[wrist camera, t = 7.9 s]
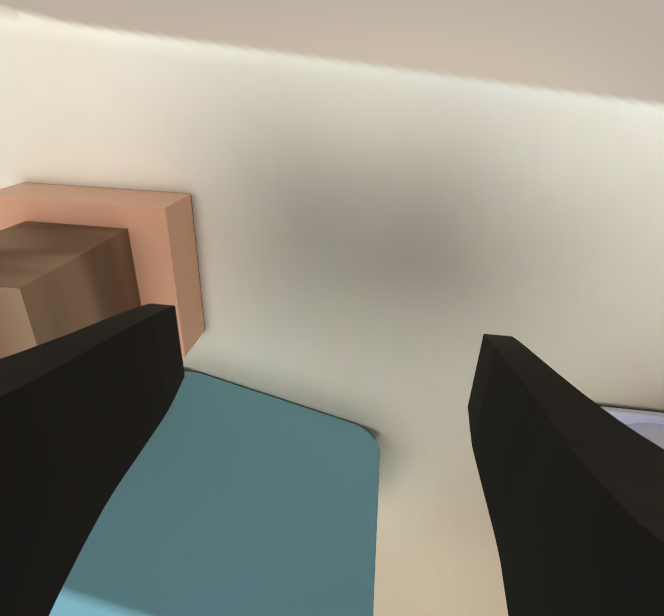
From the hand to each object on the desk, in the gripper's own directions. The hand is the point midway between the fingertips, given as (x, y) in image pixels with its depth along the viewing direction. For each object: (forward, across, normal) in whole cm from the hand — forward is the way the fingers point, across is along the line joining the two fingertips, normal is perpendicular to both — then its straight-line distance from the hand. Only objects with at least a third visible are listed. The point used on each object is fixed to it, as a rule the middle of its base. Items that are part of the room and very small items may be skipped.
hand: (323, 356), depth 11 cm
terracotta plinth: (+10, +12, +2) cm, 16 cm away
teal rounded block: (+11, +4, +12) cm, 17 cm away
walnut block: (+8, +12, +2) cm, 14 cm away
